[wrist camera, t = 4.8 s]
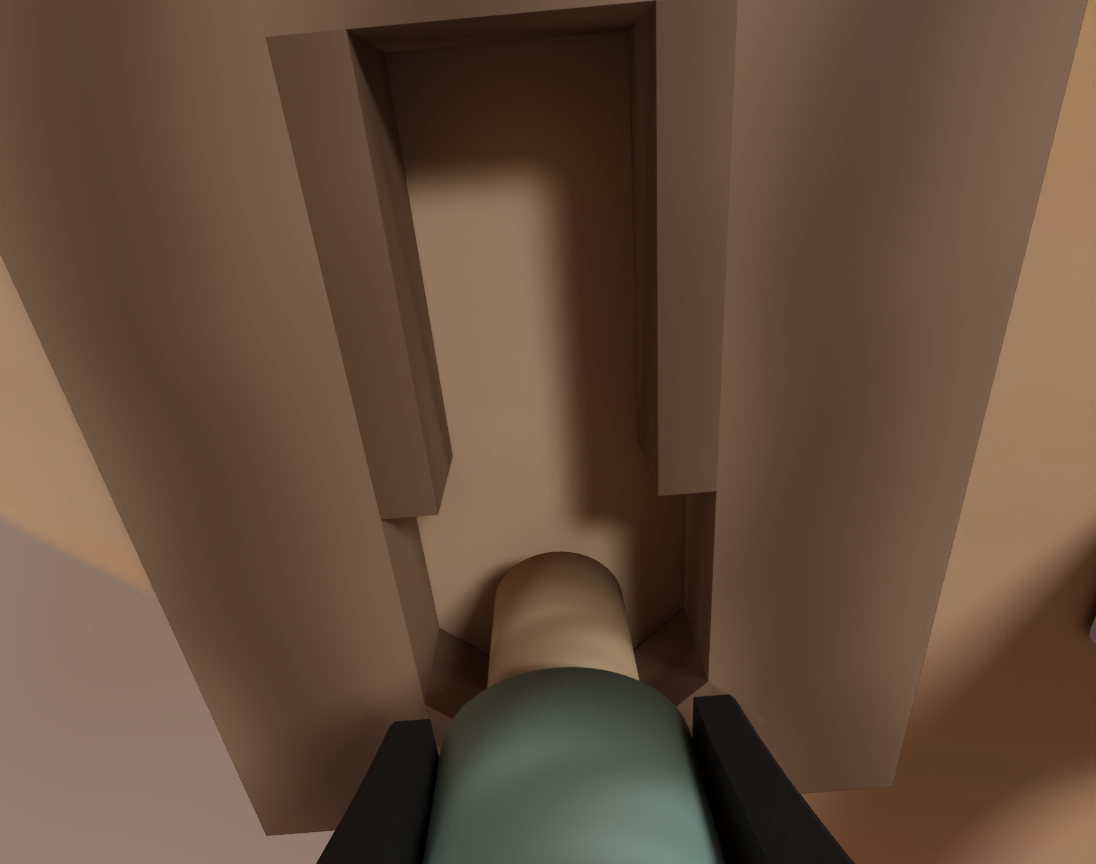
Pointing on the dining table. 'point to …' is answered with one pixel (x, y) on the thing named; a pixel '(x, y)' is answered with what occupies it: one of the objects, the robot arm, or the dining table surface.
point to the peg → (567, 739)
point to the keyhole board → (410, 362)
